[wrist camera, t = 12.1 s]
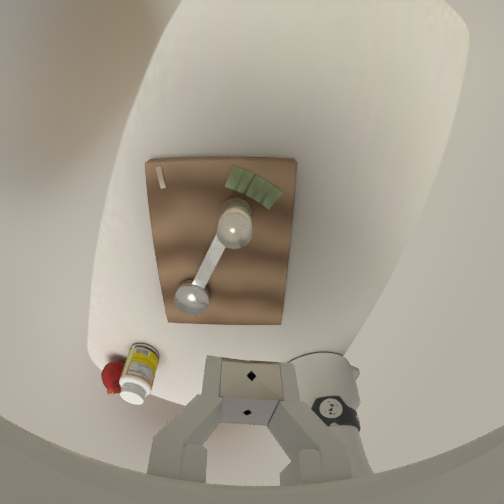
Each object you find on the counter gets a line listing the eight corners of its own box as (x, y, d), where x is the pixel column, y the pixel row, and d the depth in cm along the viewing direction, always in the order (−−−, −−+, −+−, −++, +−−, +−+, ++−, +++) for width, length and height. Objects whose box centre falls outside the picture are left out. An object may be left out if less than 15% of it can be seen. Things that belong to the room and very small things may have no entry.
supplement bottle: (142, 364, 48) (130, 408, 39) (124, 345, 46) (108, 390, 37) (165, 358, 47) (155, 405, 38) (147, 339, 45) (133, 387, 36)
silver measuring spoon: (202, 310, 38) (197, 344, 33) (172, 299, 37) (162, 331, 32) (261, 204, 31) (264, 228, 26) (224, 187, 30) (219, 208, 24)
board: (279, 315, 42) (281, 325, 40) (170, 313, 42) (167, 323, 40) (293, 158, 31) (297, 162, 29) (150, 159, 30) (144, 163, 29)
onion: (120, 349, 46) (108, 383, 39) (141, 367, 49) (131, 401, 42) (102, 356, 48) (90, 388, 41) (122, 373, 50) (112, 404, 43)
